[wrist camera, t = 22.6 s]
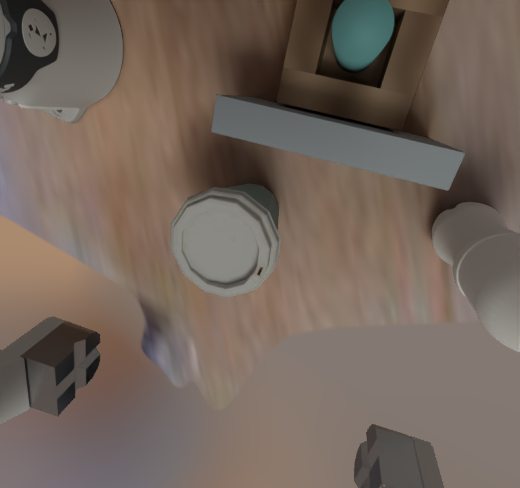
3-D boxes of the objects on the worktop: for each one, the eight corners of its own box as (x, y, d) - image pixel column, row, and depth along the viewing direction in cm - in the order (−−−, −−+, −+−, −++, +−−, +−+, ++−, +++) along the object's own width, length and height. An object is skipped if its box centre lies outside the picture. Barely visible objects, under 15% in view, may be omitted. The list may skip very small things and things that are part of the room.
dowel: (329, 68, 35) (324, 53, 24) (341, 23, 33) (342, -15, 22) (368, 77, 34) (381, 66, 23) (383, 31, 33) (403, -4, 22)
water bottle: (479, 184, 37) (691, 311, 15) (506, 237, 39) (736, 426, 16) (415, 216, 40) (511, 364, 18) (442, 265, 42) (563, 459, 19)
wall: (246, 123, 40) (211, 132, 29) (250, 96, 39) (216, 94, 28) (417, 165, 38) (448, 190, 27) (428, 137, 37) (465, 153, 26)
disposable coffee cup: (205, 224, 46) (149, 275, 33) (230, 149, 42) (177, 172, 28) (276, 257, 46) (249, 322, 32) (310, 184, 41) (295, 225, 28)
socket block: (285, 101, 38) (275, 101, 33) (313, -30, 33) (308, -55, 28) (392, 126, 37) (401, 130, 31) (439, -7, 32) (459, -29, 26)
